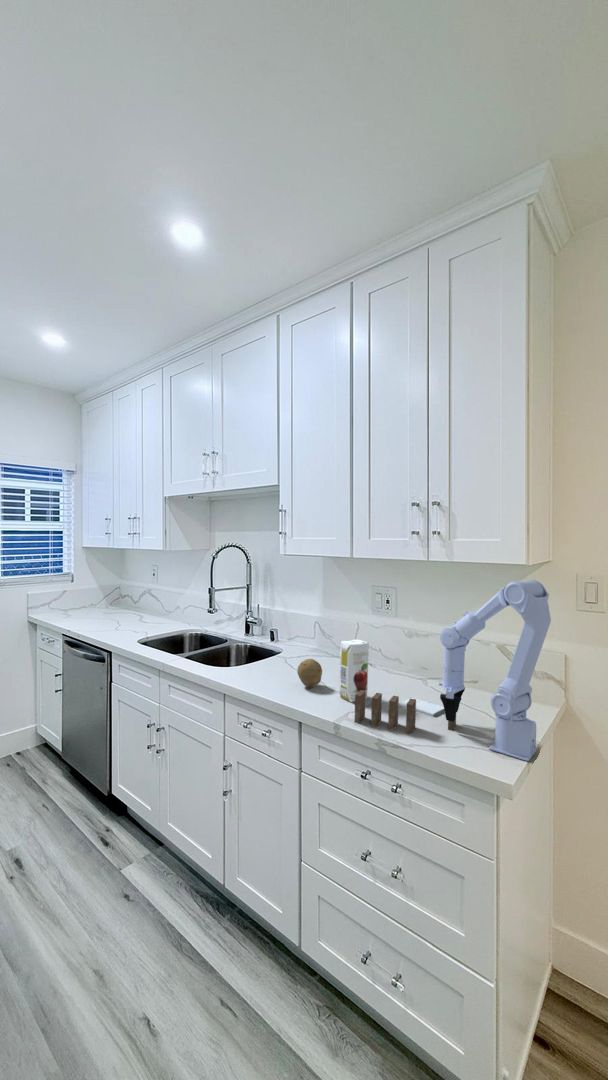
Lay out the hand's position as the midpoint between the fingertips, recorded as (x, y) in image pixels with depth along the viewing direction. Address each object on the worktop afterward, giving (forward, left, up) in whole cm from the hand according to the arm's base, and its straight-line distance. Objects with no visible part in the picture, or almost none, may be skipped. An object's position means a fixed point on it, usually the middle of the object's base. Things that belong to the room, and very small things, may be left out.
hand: (452, 715), depth 135 cm
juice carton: (+34, 0, -3) cm, 34 cm away
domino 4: (+8, +10, -3) cm, 13 cm away
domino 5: (0, 0, -3) cm, 3 cm away
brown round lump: (+52, +1, -3) cm, 52 cm away
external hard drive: (+13, -8, -4) cm, 16 cm away
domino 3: (+13, +12, -3) cm, 17 cm away
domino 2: (+17, +13, -3) cm, 22 cm away
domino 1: (+22, +14, -3) cm, 27 cm away
